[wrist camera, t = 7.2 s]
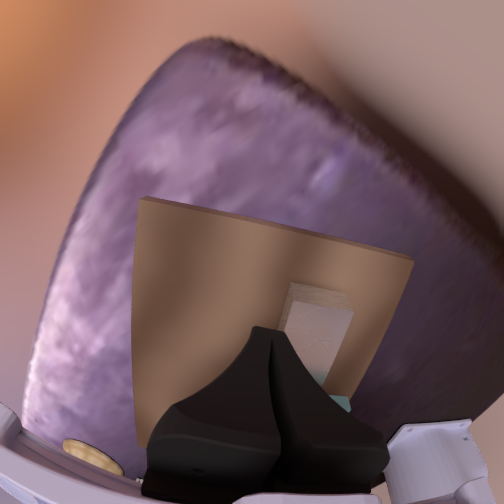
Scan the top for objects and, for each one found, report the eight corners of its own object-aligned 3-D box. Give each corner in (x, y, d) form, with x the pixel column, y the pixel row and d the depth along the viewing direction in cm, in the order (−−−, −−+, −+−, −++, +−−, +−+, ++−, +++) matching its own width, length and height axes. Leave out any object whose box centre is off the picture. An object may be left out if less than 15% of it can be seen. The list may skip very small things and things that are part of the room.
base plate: (407, 255, 16) (414, 261, 15) (298, 468, 23) (298, 476, 22) (146, 196, 16) (139, 199, 15) (141, 438, 23) (138, 446, 22)
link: (290, 437, 19) (290, 457, 18) (237, 429, 19) (234, 450, 17) (353, 294, 15) (363, 313, 13) (280, 280, 15) (282, 298, 13)
